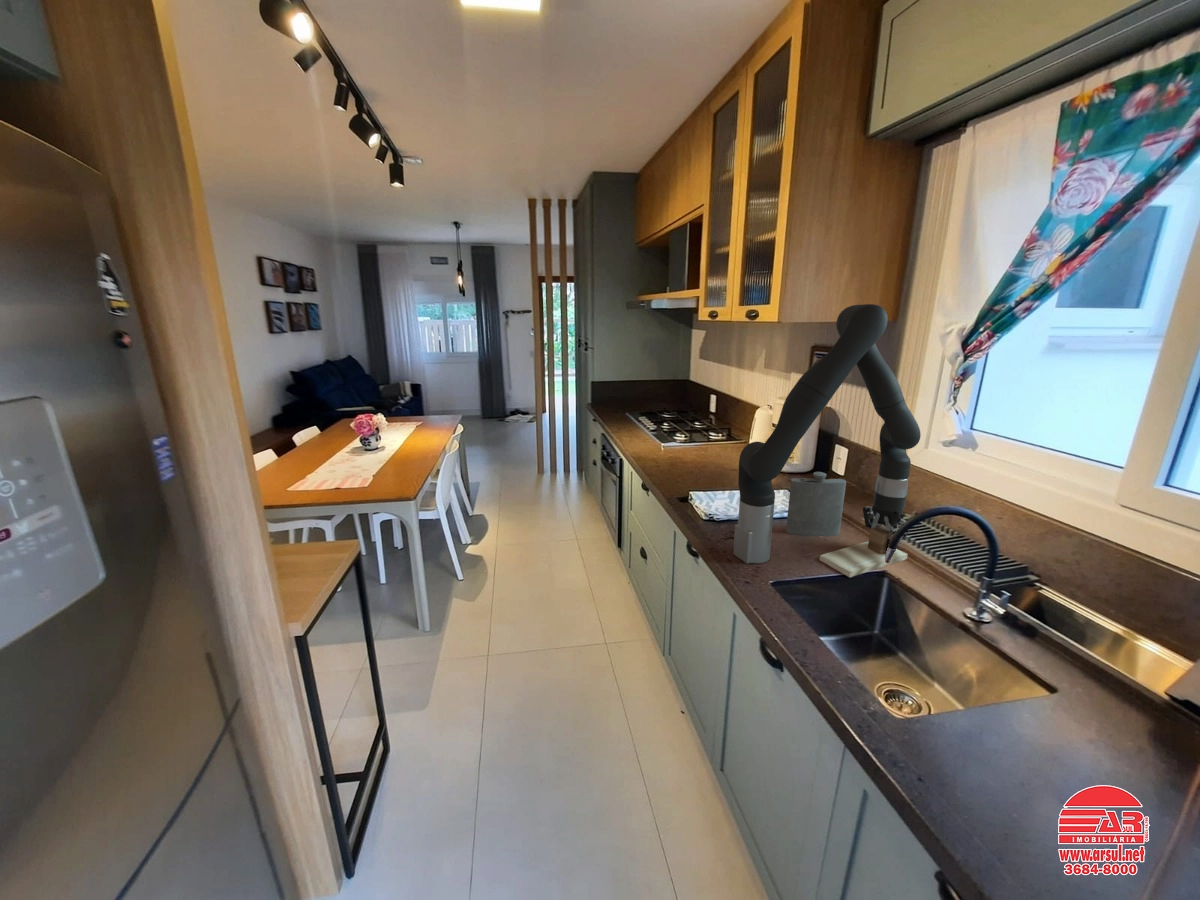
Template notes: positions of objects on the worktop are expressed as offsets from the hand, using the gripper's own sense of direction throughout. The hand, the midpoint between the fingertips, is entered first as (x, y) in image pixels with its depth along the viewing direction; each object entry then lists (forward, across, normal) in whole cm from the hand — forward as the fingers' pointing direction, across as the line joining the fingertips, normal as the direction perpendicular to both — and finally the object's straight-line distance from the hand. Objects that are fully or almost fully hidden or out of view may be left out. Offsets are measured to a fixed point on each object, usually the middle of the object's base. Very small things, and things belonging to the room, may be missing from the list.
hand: (881, 546), depth 138 cm
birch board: (+2, 0, -7) cm, 7 cm away
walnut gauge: (+1, 0, 0) cm, 1 cm away
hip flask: (+2, -18, -7) cm, 19 cm away
